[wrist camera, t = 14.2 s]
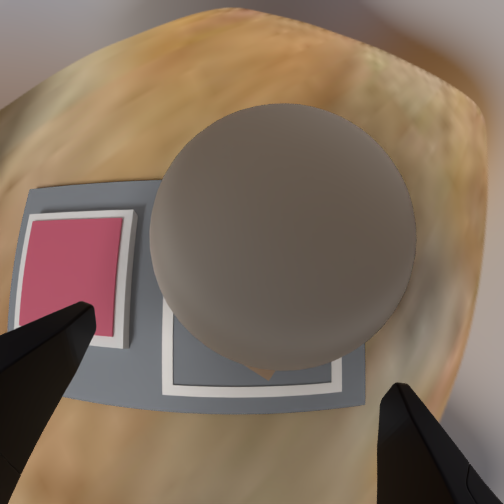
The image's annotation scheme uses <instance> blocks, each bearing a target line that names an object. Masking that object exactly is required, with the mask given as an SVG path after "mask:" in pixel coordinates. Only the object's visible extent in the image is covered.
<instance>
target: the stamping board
mask: <svg viewBox="0 0 504 504" xmlns="http://www.w3.org/2000/svg"><path fill="white" fill-rule="evenodd" d="M161 182H162V180H148V181H126V182H109V183H94V184H81V185H69V186H58V187H48V188H38V189H30V190H29V194H28V198H27V202H26V206H25V210H24V214H23V219H22V223H21V228H20V233H19V238H18V243H17V249H16V255H15V261H14V268H13V275H12V283H11V291H10V302H9V314H8V332H9V331H11V330H14V329H16V328H18V327H21V326H23V325H25V324H27V323H30V322H32V321H34V320H37V319H39V318H41V317H44V316H46V315H48V314H51V313H53V312H56V311H58V310H60V309H63V308H65V307H67V306H70V305H72V304H75V303H77V302H79V301H84V302H87V303H89V304H92V305H93V306H94V309H95V317H96V332H95V334H94V336H93V338H92V340H91V342H90V344H89V347H88V349H87V351H86V353H85V355H84V357H83V359H82V362H81V364H80V366H79V368H78V370H77V372H76V374H75V376H74V377H73V379H72V381H71V383H70V384H69V386H68V388H67V389H66V391H65V393H64V394H63V396H62V397H67V398H72V399H77V400H82V401H88V402H93V403H99V404H106V405H112V406H119V407H127V408H135V409H144V410H154V411H166V412H180V413H198V414H273V413H292V412H306V411H317V410H327V409H336V408H345V407H352V406H360V405H365V343H364V344H362V345H361V346H359V347H358V348H357V349H355V350H354V351H352V352H350V353H349V354H347V355H345V356H343V357H341V358H339V359H337V360H335V361H332V362H329V363H326V364H324V365H321V366H317V367H313V368H307V369H302V370H288V371H277V370H276V371H275V372H274V374H273V375H272V377H271V378H270V380H269V381H268V380H267V379H265V378H263V377H262V376H260V375H259V374H257V373H255V372H254V371H252V370H251V369H249V368H248V367H246V366H245V365H243V364H240V363H237V362H235V361H232V360H230V359H228V358H225V357H223V356H221V355H220V354H218V353H216V352H215V351H213V350H211V349H210V348H208V347H207V346H205V345H204V344H203V343H202V342H200V341H199V340H198V339H197V338H195V337H194V336H193V335H192V334H191V333H190V332H189V331H188V330H187V329H186V328H185V327H184V326H183V325H182V324H181V322H180V321H179V320H178V319H177V317H176V316H175V315H174V313H173V312H172V310H171V309H170V307H169V306H168V304H167V302H166V300H165V298H164V296H163V294H162V292H161V290H160V288H159V285H158V282H157V279H156V276H155V273H154V269H153V264H152V258H151V252H150V234H149V231H150V222H151V214H152V209H153V205H154V202H155V198H156V194H157V191H158V189H159V186H160V184H161Z"/></svg>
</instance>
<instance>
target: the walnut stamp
mask: <svg viewBox="0 0 504 504" xmlns="http://www.w3.org/2000/svg"><path fill="white" fill-rule="evenodd" d="M149 234H150V252H151V258H152V264H153V269H154V273H155V276H156V279H157V282H158V285H159V288H160V290H161V292H162V294H163V296H164V298H165V300H166V302H167V304H168V306H169V307H170V309H171V310H172V312H173V313H174V315H175V316H176V317H177V319H178V320H179V321H180V322H181V324H182V325H183V326H184V327H185V328H186V329H187V330H188V331H189V332H190V333H191V334H192V335H193V336H194V337H195V338H197V339H198V340H199V341H200V342H202V343H203V344H204V345H205V346H207V347H208V348H210V349H211V350H213V351H215V352H216V353H218V354H220V355H221V356H223V357H225V358H228V359H230V360H232V361H235V362H237V363H240V364H243V365H245V366H246V367H248V368H249V369H251V370H252V371H254V372H255V373H257V374H259V375H260V376H262V377H263V378H265V379H267V380H268V381H269V380H270V378H271V377H272V375H273V374H274V372H275V371H276V370H277V371H288V370H302V369H307V368H313V367H317V366H321V365H324V364H326V363H329V362H332V361H335V360H337V359H339V358H341V357H343V356H345V355H347V354H349V353H350V352H352V351H354V350H355V349H357V348H358V347H359V346H361V345H362V344H364V343H365V342H366V341H368V340H369V339H370V338H371V337H372V336H373V335H374V334H375V333H377V332H378V331H379V330H380V329H381V328H382V326H383V325H384V324H385V323H386V321H387V320H388V319H389V317H390V316H391V315H392V313H393V312H394V310H395V309H396V307H397V306H398V304H399V302H400V300H401V298H402V297H403V295H404V293H405V290H406V288H407V285H408V282H409V280H410V276H411V272H412V268H413V263H414V259H415V252H416V223H415V217H414V212H413V206H412V202H411V199H410V195H409V192H408V189H407V187H406V185H405V183H404V180H403V178H402V176H401V174H400V173H399V171H398V169H397V168H396V166H395V164H394V163H393V161H392V160H391V159H390V157H389V156H388V155H387V154H386V152H385V151H384V150H383V148H382V147H381V146H380V145H379V144H378V143H377V142H376V141H375V140H374V139H373V138H372V137H370V136H369V135H368V134H367V133H366V132H364V131H363V130H362V129H360V128H359V127H357V126H356V125H354V124H353V123H351V122H350V121H348V120H346V119H344V118H342V117H340V116H338V115H336V114H333V113H331V112H328V111H325V110H322V109H319V108H315V107H311V106H305V105H300V104H268V105H261V106H255V107H251V108H247V109H243V110H240V111H237V112H235V113H232V114H230V115H227V116H225V117H223V118H221V119H220V120H218V121H216V122H214V123H213V124H211V125H210V126H208V127H207V128H206V129H204V130H203V131H201V132H200V133H199V134H197V135H196V136H195V137H194V138H193V139H192V140H191V141H190V142H189V143H187V144H186V145H185V147H184V148H183V149H182V150H181V151H180V153H179V154H178V155H177V156H176V158H175V159H174V161H173V162H172V164H171V165H170V167H169V169H168V170H167V172H166V174H165V175H164V177H163V179H162V182H161V184H160V186H159V189H158V191H157V194H156V198H155V202H154V205H153V209H152V214H151V222H150V231H149Z"/></svg>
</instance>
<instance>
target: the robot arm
mask: <svg viewBox="0 0 504 504" xmlns="http://www.w3.org/2000/svg"><path fill="white" fill-rule="evenodd" d="M95 332H96V317H95V309H94V306H93V305H92V304H89V303H87V302H84V301H79V302H77V303H75V304H72V305H70V306H67V307H65V308H63V309H60V310H58V311H56V312H53V313H51V314H48V315H46V316H44V317H41V318H39V319H37V320H34V321H32V322H30V323H27V324H25V325H23V326H21V327H18V328H16V329H14V330H11V331H9V332H7V333H4V334H2V335H0V504H8V502H9V500H10V498H11V495H12V493H13V491H14V489H15V487H16V484H17V482H18V480H19V478H20V476H21V473H22V471H23V469H24V467H25V465H26V463H27V461H28V459H29V457H30V455H31V453H32V451H33V449H34V447H35V445H36V443H37V442H38V440H39V438H40V436H41V434H42V432H43V430H44V428H45V427H46V425H47V423H48V421H49V419H50V417H51V416H52V414H53V412H54V410H55V408H56V407H57V405H58V403H59V401H60V400H61V398H62V396H63V394H64V393H65V391H66V389H67V388H68V386H69V384H70V383H71V381H72V379H73V377H74V376H75V374H76V372H77V370H78V368H79V366H80V364H81V362H82V359H83V357H84V355H85V353H86V351H87V349H88V347H89V344H90V342H91V340H92V338H93V336H94V334H95ZM377 504H503V503H502V502H501V501H500V500H499V499H498V498H497V497H496V495H495V494H494V493H493V492H492V491H491V490H490V488H489V487H488V486H487V485H486V484H485V483H484V481H483V480H482V479H481V477H480V476H479V475H478V474H477V472H476V471H475V470H474V468H473V467H472V466H471V464H469V462H468V460H467V459H466V458H465V456H464V455H463V454H462V452H461V451H460V450H459V449H458V447H457V446H456V445H455V443H454V442H453V441H452V439H451V438H450V437H449V436H448V434H447V433H446V432H445V430H444V429H443V428H442V426H441V425H440V424H439V423H438V421H437V420H436V419H435V417H434V416H433V415H432V414H431V412H430V411H429V410H428V409H427V407H426V406H425V405H424V403H423V402H422V401H421V400H420V398H419V397H418V396H417V395H416V393H415V392H414V391H413V390H412V389H411V387H410V386H409V385H408V384H405V383H398V382H397V383H395V384H393V385H392V387H391V388H390V389H389V391H388V392H387V393H386V394H385V396H384V397H383V398H382V400H381V403H380V415H379V430H378V443H377Z"/></svg>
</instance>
